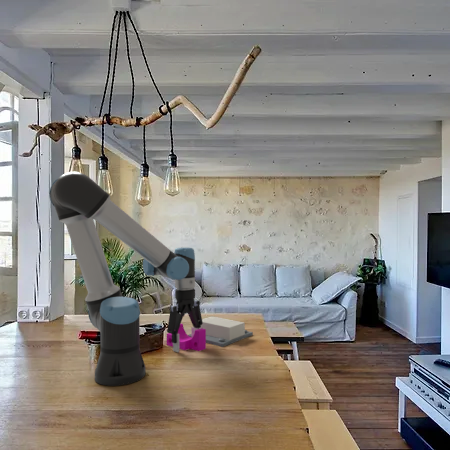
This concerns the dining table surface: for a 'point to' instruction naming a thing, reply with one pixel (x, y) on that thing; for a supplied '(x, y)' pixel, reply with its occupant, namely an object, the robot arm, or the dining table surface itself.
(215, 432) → the dining table surface
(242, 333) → the baseplate
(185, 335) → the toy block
